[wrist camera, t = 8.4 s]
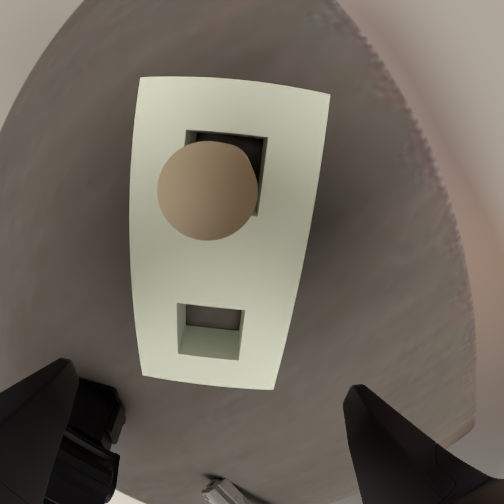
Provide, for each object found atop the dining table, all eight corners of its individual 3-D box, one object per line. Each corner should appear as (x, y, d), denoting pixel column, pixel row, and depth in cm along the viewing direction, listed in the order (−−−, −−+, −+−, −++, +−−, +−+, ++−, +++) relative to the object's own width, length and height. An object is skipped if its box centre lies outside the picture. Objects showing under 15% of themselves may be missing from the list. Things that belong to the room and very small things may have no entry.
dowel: (200, 188, 18) (155, 235, 9) (205, 141, 17) (161, 138, 8) (246, 192, 18) (251, 245, 9) (252, 146, 17) (264, 146, 8)
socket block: (269, 360, 23) (273, 389, 20) (153, 347, 22) (142, 375, 19) (314, 103, 16) (330, 94, 13) (158, 88, 15) (140, 77, 12)
